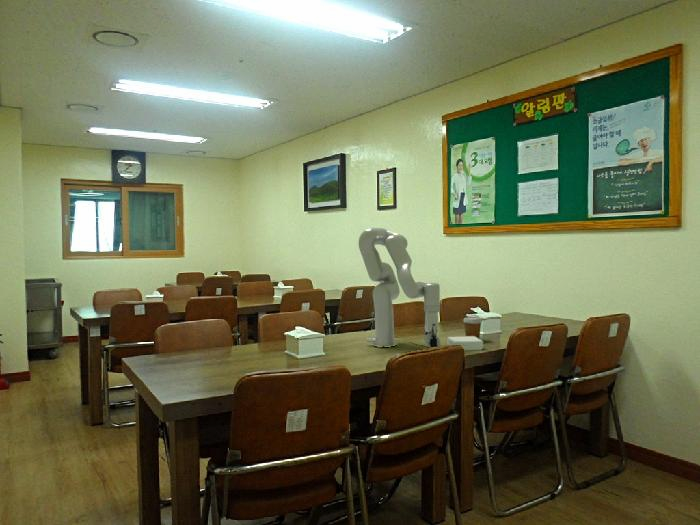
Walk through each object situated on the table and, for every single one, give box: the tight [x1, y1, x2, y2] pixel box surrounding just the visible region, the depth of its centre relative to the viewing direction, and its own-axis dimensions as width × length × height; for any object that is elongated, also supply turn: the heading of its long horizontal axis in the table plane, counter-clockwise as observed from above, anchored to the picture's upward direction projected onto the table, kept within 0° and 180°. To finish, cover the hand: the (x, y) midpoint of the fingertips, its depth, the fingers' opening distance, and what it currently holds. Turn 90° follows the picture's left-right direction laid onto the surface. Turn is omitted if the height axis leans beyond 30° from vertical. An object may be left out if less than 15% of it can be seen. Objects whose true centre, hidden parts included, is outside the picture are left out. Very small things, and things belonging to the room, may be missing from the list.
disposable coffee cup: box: [462, 316, 482, 339], centre depth 275 cm, size 10×10×12 cm
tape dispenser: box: [423, 330, 441, 348], centre depth 257 cm, size 6×7×10 cm
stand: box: [446, 335, 484, 351], centre depth 260 cm, size 14×14×4 cm
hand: (432, 345), depth 258 cm, fingers closed on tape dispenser, 6 cm apart
